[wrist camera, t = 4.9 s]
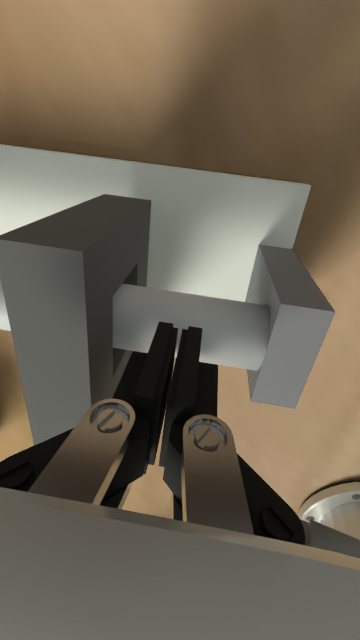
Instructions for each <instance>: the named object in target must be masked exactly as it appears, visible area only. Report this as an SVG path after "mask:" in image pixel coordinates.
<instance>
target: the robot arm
mask: <svg viewBox="0 0 360 640" xmlns="http://www.w3.org/2000/svg"><path fill="white" fill-rule="evenodd" d="M202 329H203V328H198V327H192V326H189V327H188V330H187V329H182V334H181V338H180V343H179V348H178V352H177V357H176V362H175V366H174V371H173V365H174V357H175V349H176V342H177V334H178V328H175V327H173V323H167V322H161V321H159V323H158V326H157V329H156V332H155V334H154V337H153V340H152V343H151V346H150V348H149V351H148V353H143V352H137V351H133V352H132V354H131V356H130V358H129V361H128V363H127V365H126V368H125V370H124V372H123V375H122V377H121V379H120V381H119V384H118V386H117V388H116V391H115V393H114V395H113V398H112V399H104V400H101V401H98V402H96V403H95V404H93V405H92V406H91V407H90V408H89V409H88V410H87V411H86V412H85V414H84V415H83V417H82V418H81V419H80V421H79V422H78V423H77V425H76V426H75V428H72V429H70V430H68V431H66V432H63V433H61V434H59V435H57V436H54V437H52V438H50V439H48V440H46V441H43V442H41V443H39V444H37V445H34V446H32V447H30V448H28V449H26V450H23V451H21V452H19V453H17V454H14V455H12V456H10V457H8V458H6V459H5V460H3V461H1V462H0V640H360V482H350V483H344V484H339V485H336V486H332V487H329V488H327V489H324V490H322V491H320V492H318V493H316V494H315V495H313V496H311V497H310V498H309V499H308V500H307V501H306V502H305V503H304V504H303V505H302V507H301V508H300V510H299V514H298V516H297V515H296V513H295V512H294V511H293V509H292V508H291V507H290V506H289V505H288V504H287V503H286V502H285V501H284V500H283V499H282V498H281V497H280V496H279V495H278V494H277V493H276V492H275V491H274V490H273V489H272V488H271V487H270V486H269V485H268V484H267V483H266V482H265V481H264V480H263V479H262V478H261V477H260V476H259V475H258V474H257V473H256V472H255V471H254V470H253V469H252V468H251V467H250V466H249V465H248V464H247V463H246V462H245V461H244V460H243V459H242V458H241V457H240V456H239V455H238V454H237V452H236V448H235V443H234V438H233V434H232V432H231V429H230V428H229V427H228V425H227V424H226V423H225V422H223V421H222V420H221V419H219V418H217V392H218V365H215V364H209V363H203V362H199V358H200V348H201V339H202ZM172 372H173V376H172ZM165 410H166V414H165ZM164 415H165V422H164V430H163V437H162V445H161V453H160V461H159V466H162V467H165V469H164V476H163V480H164V481H165V483H166V484H167V485H168V487H169V488H170V489H171V491H172V496H171V519H168V518H163V517H158V516H153V515H147V514H142V513H137V512H132V511H126V510H121V509H122V507H123V505H124V503H125V500H126V498H127V496H128V493H129V491H130V488H131V484H132V482H133V481H135V480H136V479H138V478H139V477H141V476H143V474H146V470H147V466H148V464H151V465H154V462H155V458H156V453H157V448H158V443H159V439H160V434H161V429H162V425H163V420H164Z"/></svg>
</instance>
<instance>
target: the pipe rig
mask: <svg viewBox="0 0 360 640" xmlns="http://www.w3.org/2000/svg"><path fill="white" fill-rule="evenodd" d="M310 188H311V185H308V184H305V183H297V182H289V181H281V180H274V179H266V178H258V177H251V176H243V175H235V174H227V173H220V172H212V171H204V170H197V169H189V168H181V167H173V166H166V165H158V164H150V163H143V162H135V161H127V160H120V159H112V158H104V157H96V156H89V155H81V154H73V153H66V152H58V151H50V150H42V149H35V148H27V147H19V146H12V145H4V144H0V235H2V234H4V233H7V232H9V231H12V230H14V229H17V228H19V227H22V226H25V225H27V224H30V223H32V222H35V221H37V220H40V219H42V218H45V217H47V216H50V215H52V214H55V213H57V212H60V211H62V210H65V209H68V208H70V207H73V206H75V205H78V204H80V203H83V202H85V201H88V200H90V199H93V198H95V197H98V196H100V195H103V194H109V195H116V196H124V197H131V198H138V199H146V200H151V216H150V233H149V250H148V268H147V285H146V287H142V286H135V285H129V284H121V286H120V287H119V288H118V290H117V291H116V292H115V294H114V295H113V348H119V349H125V350H131V351H137V352H144V353H148V351H149V348H150V346H151V343H152V340H153V337H154V334H155V332H156V329H157V326H158V323H159V321H161V322H167V323H173V327H175V328H178V334H177V342H176V349H175V358H176V357H177V352H178V348H179V343H180V338H181V334H182V329H187V330H188V327H189V326H192V327H198V328H203V329H202V339H201V348H200V358H199V362H205V363H212V364H218V365H224V366H230V367H236V368H243V369H247V373H248V382H249V391H250V400H251V401H252V402H258V403H264V404H270V405H276V406H282V407H288V408H294V409H295V407H296V405H297V403H298V400H299V398H300V395H301V393H302V391H303V388H304V386H305V383H306V381H307V379H308V376H309V374H310V371H311V369H312V367H313V364H314V362H315V359H316V357H317V355H318V352H319V350H320V347H321V345H322V343H323V340H324V338H325V335H326V333H327V331H328V328H329V326H330V323H331V321H332V319H333V316H334V314H335V311H334V309H333V308H332V306H331V305H330V303H329V302H328V301H327V299H326V298H325V296H324V295H323V293H322V292H321V290H320V289H319V287H318V286H317V285H316V283H315V282H314V280H313V279H312V277H311V276H310V274H309V273H308V271H307V270H306V269H305V267H304V266H303V264H302V263H301V261H300V260H299V258H298V257H297V255H296V254H295V253H294V251H293V250H292V248H293V245H294V242H295V238H296V235H297V232H298V228H299V225H300V222H301V218H302V215H303V212H304V208H305V205H306V202H307V198H308V195H309V192H310ZM0 329H1V330H7V331H11V328H10V323H9V319H8V314H7V309H6V304H5V299H4V294H3V289H2V284H1V279H0Z"/></svg>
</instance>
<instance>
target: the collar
mask: <svg viewBox="0 0 360 640" xmlns="http://www.w3.org/2000/svg"><path fill="white" fill-rule="evenodd" d="M150 216H151V200H146V199H138V198H131V197H124V196H116V195H109V194H103V195H100V196H98V197H95V198H93V199H90V200H88V201H85V202H83V203H80V204H78V205H75V206H73V207H70V208H68V209H65V210H62V211H60V212H57V213H55V214H52V215H50V216H47V217H45V218H42V219H40V220H37V221H35V222H32V223H30V224H27V225H25V226H22V227H19V228H17V229H14V230H12V231H9V232H7V233H4V234H2V235H0V279H1V284H2V289H3V294H4V299H5V304H6V309H7V314H8V319H9V323H10V328H11V333H12V338H13V343H14V348H15V353H16V358H17V363H18V368H19V373H20V378H21V382H22V387H23V392H24V397H25V402H26V407H27V412H28V417H29V422H30V427H31V432H32V436H33V441H34V445H37V444H39V443H41V442H43V441H46V440H48V439H50V438H52V437H54V436H57V435H59V434H61V433H63V432H66V431H68V430H70V429H72V428H75V426H76V425H77V423H78V422H79V421H80V419H81V418H82V417H83V415H84V414H85V412H86V411H87V410H88V409H89V408H90V407H91V406H92V405H93V404H95V403H96V402H98V401H101V400H104V399H112V398H113V395H114V393H115V391H116V388H117V386H118V384H119V381H120V379H121V377H122V375H123V372H124V370H125V368H126V365H127V363H128V361H129V358H130V356H131V354H132V352H133V351H131V350H125V349H119V348H113V295H114V294H115V292H116V291H117V290H118V288H119V287H120V286H121V284H129V285H135V286H142V287H146V285H147V268H148V250H149V233H150Z"/></svg>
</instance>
